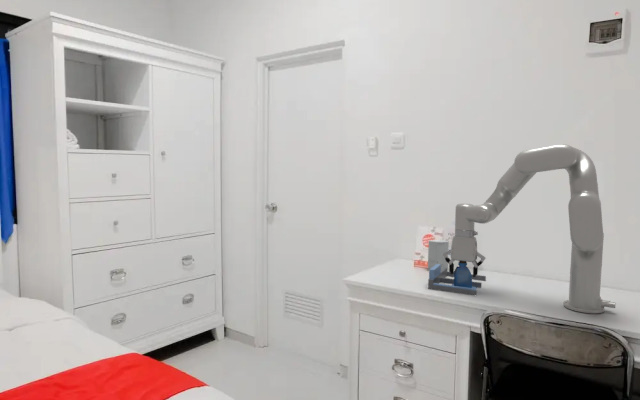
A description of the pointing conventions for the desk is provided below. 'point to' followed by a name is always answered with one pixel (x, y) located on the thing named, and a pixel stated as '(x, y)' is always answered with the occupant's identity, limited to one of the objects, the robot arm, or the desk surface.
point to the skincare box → (437, 253)
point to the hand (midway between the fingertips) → (463, 274)
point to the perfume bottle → (462, 275)
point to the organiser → (450, 281)
